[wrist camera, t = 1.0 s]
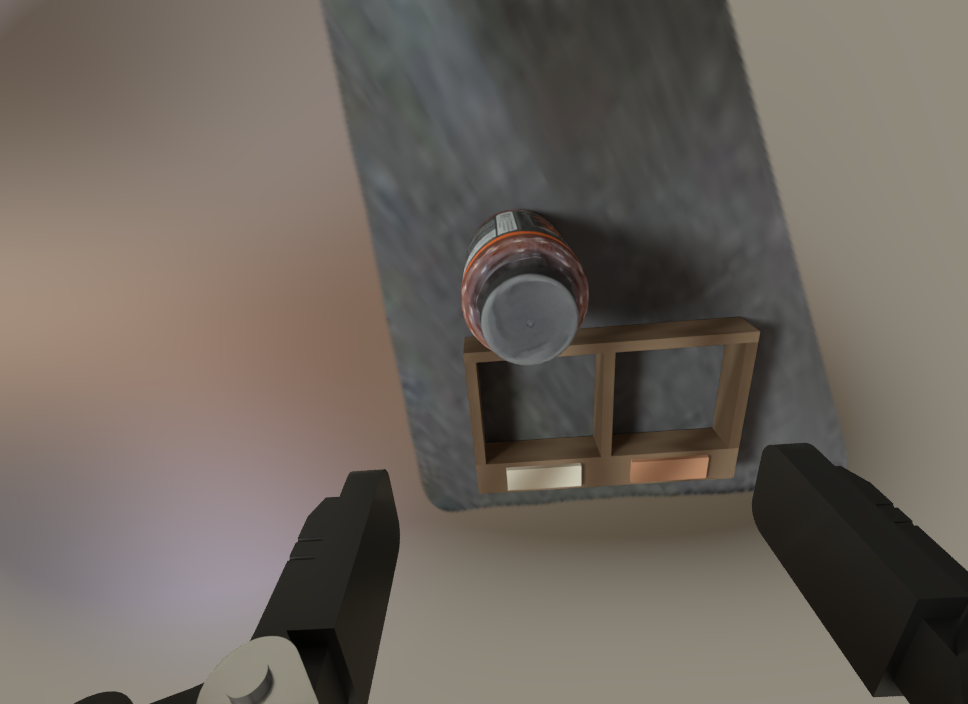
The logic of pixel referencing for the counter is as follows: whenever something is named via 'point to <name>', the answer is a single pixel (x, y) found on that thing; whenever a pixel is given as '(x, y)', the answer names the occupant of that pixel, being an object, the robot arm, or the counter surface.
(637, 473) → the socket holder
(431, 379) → the counter surface
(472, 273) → the supplement bottle
